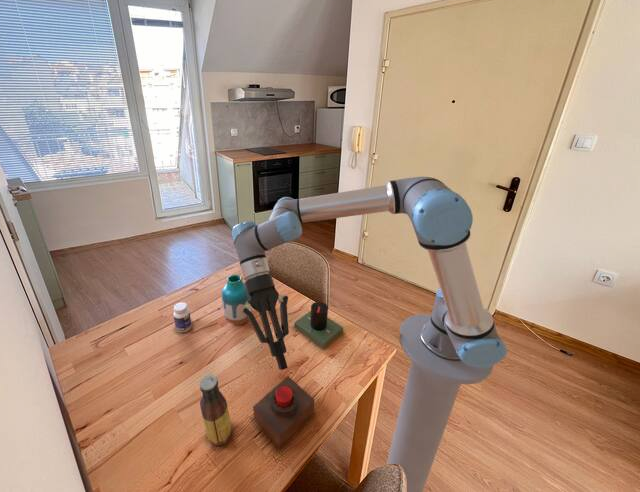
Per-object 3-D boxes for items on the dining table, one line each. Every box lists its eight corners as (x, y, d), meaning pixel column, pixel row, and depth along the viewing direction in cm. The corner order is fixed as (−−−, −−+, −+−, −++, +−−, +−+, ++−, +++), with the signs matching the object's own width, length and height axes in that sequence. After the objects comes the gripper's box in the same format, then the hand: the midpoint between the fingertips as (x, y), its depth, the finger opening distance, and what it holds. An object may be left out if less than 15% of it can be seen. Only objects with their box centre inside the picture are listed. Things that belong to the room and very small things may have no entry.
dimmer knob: (311, 317, 111) (312, 299, 107) (327, 320, 109) (329, 302, 106) (308, 328, 105) (309, 310, 102) (325, 332, 104) (326, 313, 100)
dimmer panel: (342, 332, 107) (343, 327, 106) (323, 349, 100) (323, 343, 99) (313, 313, 116) (313, 308, 115) (294, 327, 109) (294, 321, 108)
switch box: (287, 388, 87) (287, 370, 84) (313, 412, 80) (314, 394, 77) (253, 419, 79) (252, 401, 76) (279, 449, 72) (279, 430, 69)
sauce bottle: (232, 420, 79) (225, 368, 71) (231, 445, 73) (224, 392, 65) (207, 423, 78) (198, 371, 70) (204, 449, 72) (194, 395, 64)
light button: (284, 387, 80) (284, 382, 79) (295, 399, 77) (295, 393, 76) (272, 398, 77) (272, 393, 76) (283, 410, 74) (283, 405, 73)
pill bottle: (189, 333, 107) (185, 311, 103) (173, 333, 108) (169, 311, 103) (193, 321, 113) (190, 301, 109) (179, 321, 113) (175, 301, 109)
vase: (256, 313, 117) (253, 273, 109) (244, 332, 107) (241, 289, 100) (232, 307, 120) (228, 268, 112) (219, 325, 111) (213, 283, 103)
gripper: (236, 280, 74) (262, 379, 67) (283, 268, 79) (312, 360, 72) (232, 285, 81) (255, 377, 73) (275, 274, 85) (301, 359, 78)
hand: (283, 368), depth 73 cm, fingers closed
